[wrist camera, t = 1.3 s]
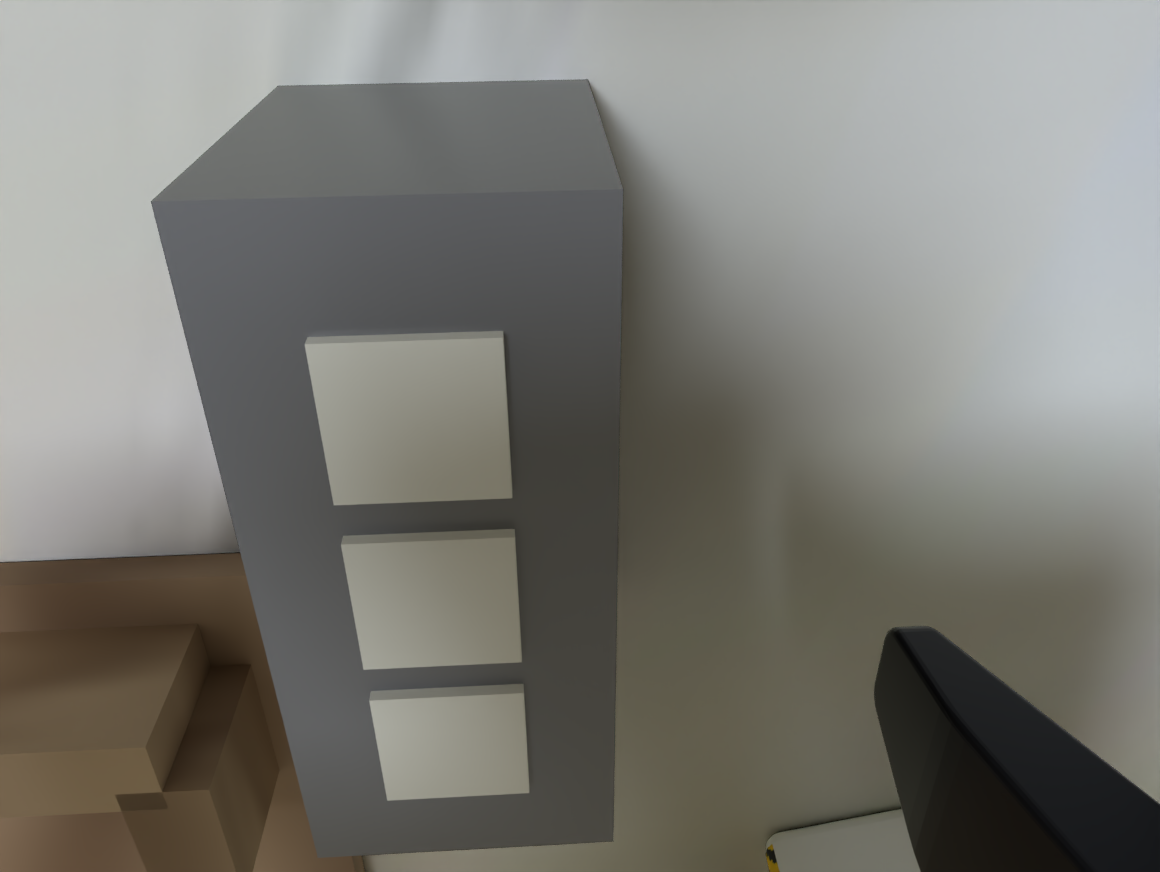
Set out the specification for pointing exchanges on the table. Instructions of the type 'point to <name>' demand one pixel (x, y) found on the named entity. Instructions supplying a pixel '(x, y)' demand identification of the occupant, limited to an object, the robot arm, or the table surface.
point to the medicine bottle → (845, 846)
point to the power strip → (420, 445)
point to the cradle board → (143, 723)
